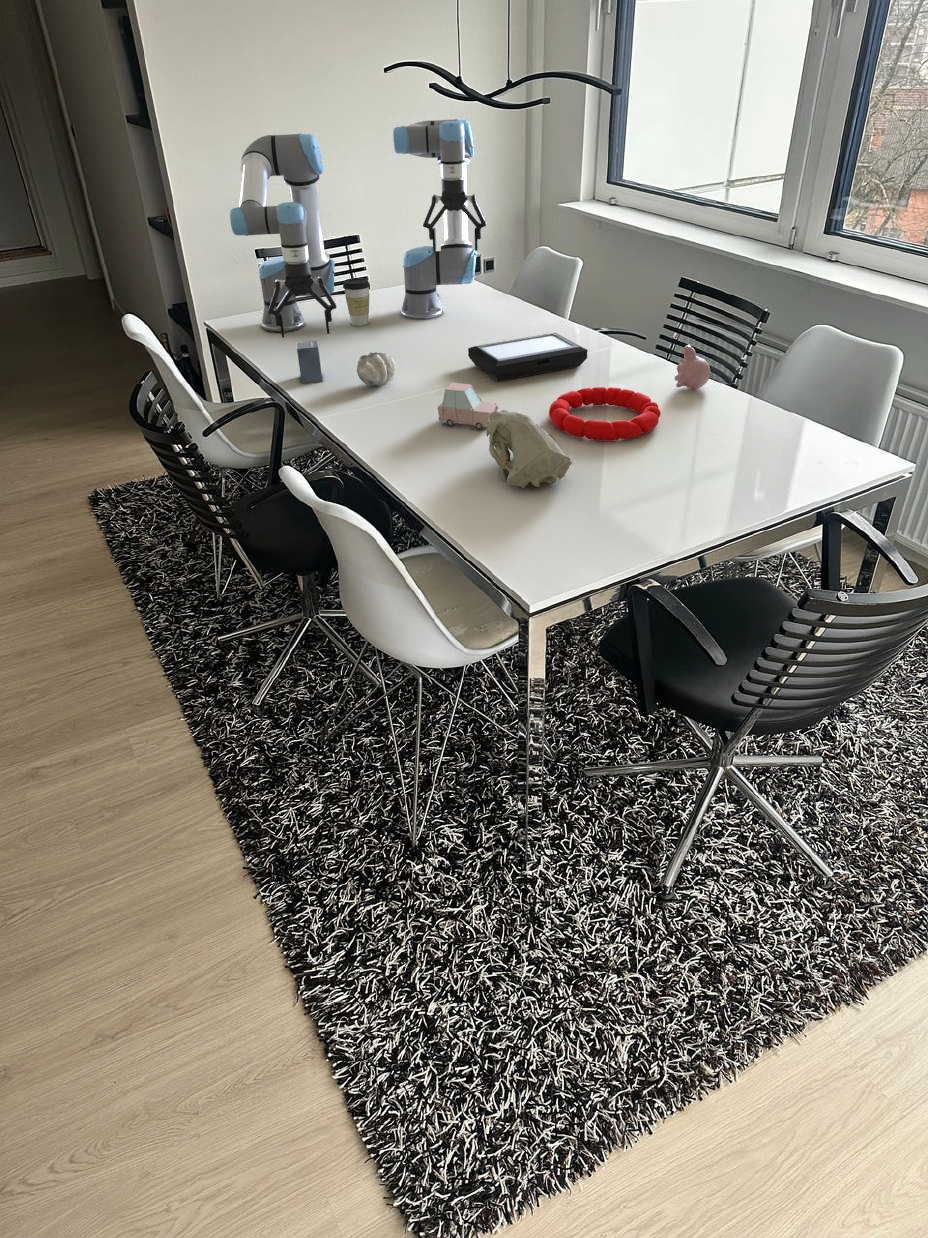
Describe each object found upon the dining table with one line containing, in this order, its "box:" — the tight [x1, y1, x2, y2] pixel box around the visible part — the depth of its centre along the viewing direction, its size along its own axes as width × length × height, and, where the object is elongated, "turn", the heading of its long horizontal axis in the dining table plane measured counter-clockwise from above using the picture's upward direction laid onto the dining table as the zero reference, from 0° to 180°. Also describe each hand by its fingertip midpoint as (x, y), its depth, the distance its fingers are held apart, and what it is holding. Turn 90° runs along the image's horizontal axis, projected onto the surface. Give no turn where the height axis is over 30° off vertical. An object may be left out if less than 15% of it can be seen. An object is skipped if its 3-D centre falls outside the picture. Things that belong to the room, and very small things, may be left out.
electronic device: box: [467, 332, 588, 382], centre depth 281 cm, size 32×6×20 cm
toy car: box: [437, 382, 499, 431], centre depth 243 cm, size 9×15×10 cm, turn 70°
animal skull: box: [485, 409, 573, 489], centre depth 216 cm, size 17×25×20 cm
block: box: [295, 340, 323, 384], centre depth 276 cm, size 7×6×11 cm
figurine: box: [674, 344, 711, 390], centre depth 259 cm, size 9×11×12 cm
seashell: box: [356, 351, 396, 386], centre depth 270 cm, size 10×15×10 cm
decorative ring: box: [548, 386, 661, 442], centre depth 242 cm, size 7×30×30 cm
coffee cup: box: [342, 277, 371, 327], centre depth 323 cm, size 10×10×15 cm
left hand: (305, 334), depth 271 cm, fingers open, 13 cm apart
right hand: (455, 250), depth 289 cm, fingers open, 13 cm apart
